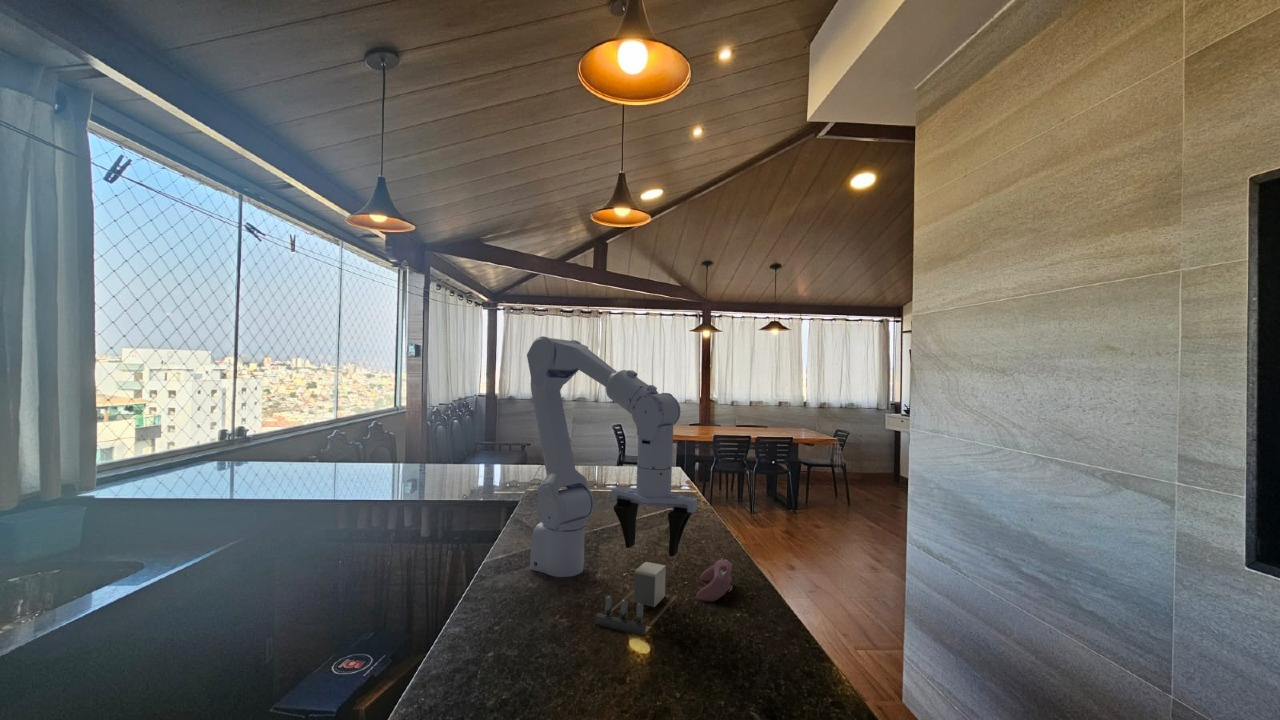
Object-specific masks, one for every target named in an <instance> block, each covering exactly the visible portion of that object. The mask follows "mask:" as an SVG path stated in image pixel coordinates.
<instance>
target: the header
mask: <svg viewBox="0 0 1280 720" xmlns="http://www.w3.org/2000/svg"><path fill="white" fill-rule="evenodd" d="M604 600H605V602H604V603H605V605H604V613H601V612H598V613H596V614H594V625H597V626H601V627H605V628H609V629H613V630H617V631H621V632H625V633H628V634H631V635H632V634H633V635H637V636H640V637H644V636H645V634H646V633H647V632H646V626H647V624H645V623H644V604H643V603H641V602H639V603H636V606H635V607H636V609H635V611H636V613H635V615H636V616H635V621H634V620H629V619H628V604H629V602H628V601H629V600H628V599H623V598H621V599H620V601H621V605H620V615H619V617H617V616H613V612H612V608H613V596H612V595H611V594H610V595H606V596H605V599H604Z"/></svg>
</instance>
